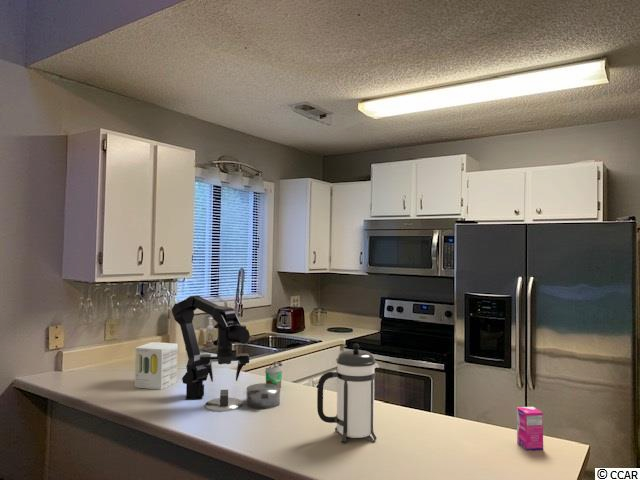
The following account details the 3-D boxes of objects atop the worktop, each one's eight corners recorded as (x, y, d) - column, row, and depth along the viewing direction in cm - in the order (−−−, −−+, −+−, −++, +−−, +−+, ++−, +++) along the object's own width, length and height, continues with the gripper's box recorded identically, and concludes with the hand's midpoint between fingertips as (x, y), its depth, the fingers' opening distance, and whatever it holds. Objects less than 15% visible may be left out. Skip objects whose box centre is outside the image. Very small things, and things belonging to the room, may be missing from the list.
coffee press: (347, 423, 164) (348, 337, 165) (387, 435, 154) (387, 343, 155) (315, 438, 151) (316, 344, 152) (356, 452, 141) (357, 351, 142)
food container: (278, 392, 200) (279, 369, 200) (265, 391, 201) (265, 368, 201) (286, 384, 212) (287, 362, 212) (273, 383, 213) (273, 361, 213)
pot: (247, 411, 176) (247, 394, 176) (245, 397, 192) (245, 383, 192) (281, 409, 178) (282, 393, 179) (277, 396, 194) (277, 381, 195)
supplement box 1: (133, 387, 205) (134, 347, 205) (151, 379, 217) (152, 341, 218) (161, 390, 201) (162, 349, 202) (177, 381, 214) (178, 343, 215)
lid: (204, 413, 174) (204, 399, 174) (206, 401, 188) (206, 388, 188) (242, 411, 177) (243, 397, 177) (242, 399, 191) (242, 386, 191)
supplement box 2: (516, 443, 149) (516, 406, 150) (534, 442, 150) (534, 406, 150) (525, 450, 144) (525, 412, 144) (544, 450, 144) (544, 412, 144)
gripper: (199, 345, 173) (198, 388, 173) (250, 344, 177) (249, 386, 177) (200, 339, 184) (200, 379, 184) (249, 338, 188) (248, 378, 188)
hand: (224, 381), depth 183 cm, fingers open, 9 cm apart
